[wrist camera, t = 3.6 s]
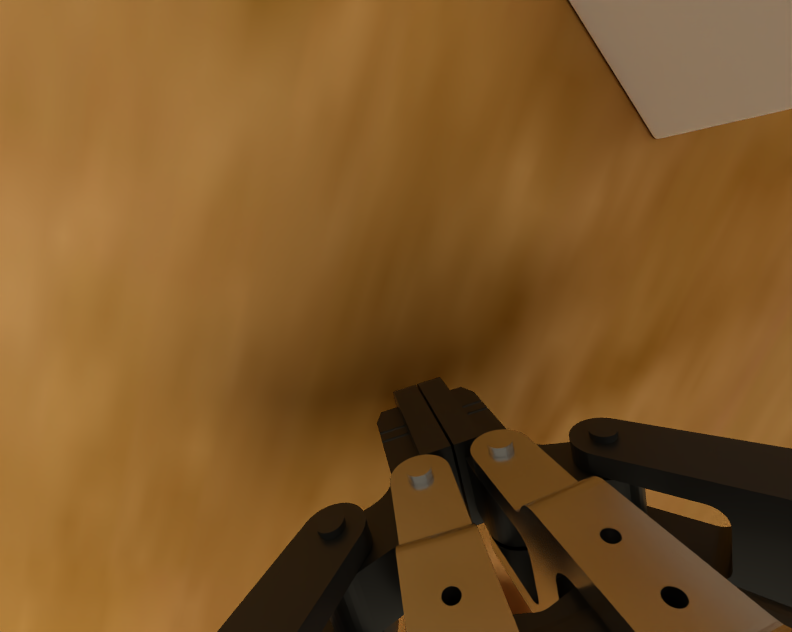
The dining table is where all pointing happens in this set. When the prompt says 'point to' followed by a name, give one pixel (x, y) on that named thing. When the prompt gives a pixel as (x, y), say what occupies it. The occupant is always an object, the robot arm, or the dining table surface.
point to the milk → (696, 58)
